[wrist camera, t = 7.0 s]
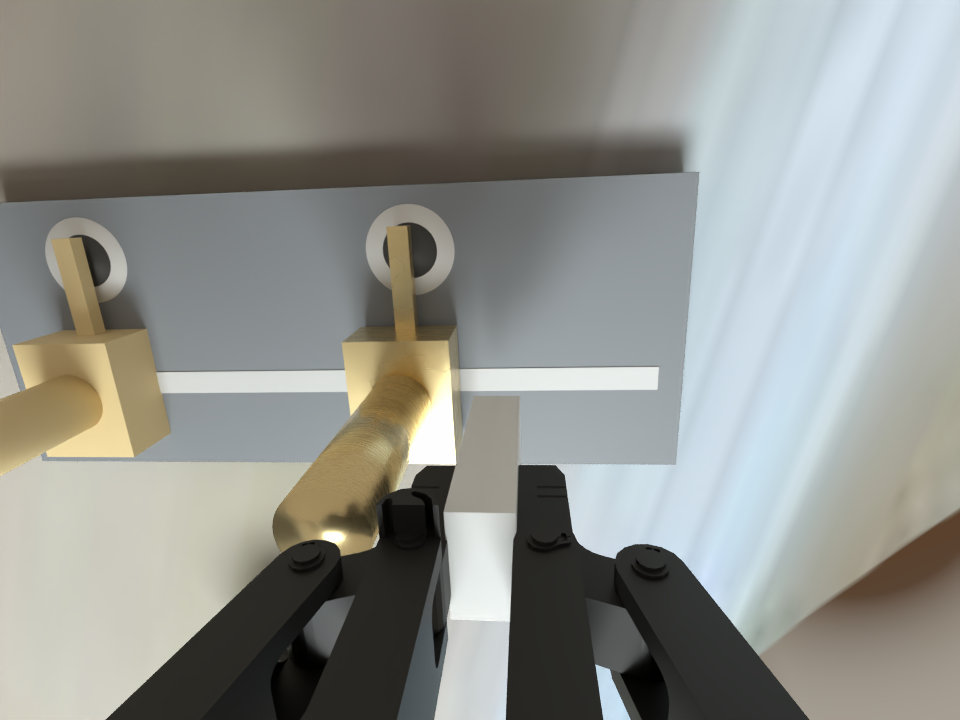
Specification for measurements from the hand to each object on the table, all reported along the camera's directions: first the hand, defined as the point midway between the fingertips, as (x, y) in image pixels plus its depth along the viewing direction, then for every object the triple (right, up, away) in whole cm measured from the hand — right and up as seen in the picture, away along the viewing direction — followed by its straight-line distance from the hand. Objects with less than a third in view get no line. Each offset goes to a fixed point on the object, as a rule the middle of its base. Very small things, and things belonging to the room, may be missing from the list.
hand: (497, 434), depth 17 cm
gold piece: (-3, +3, +4) cm, 7 cm away
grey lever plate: (-7, +4, +7) cm, 11 cm away
